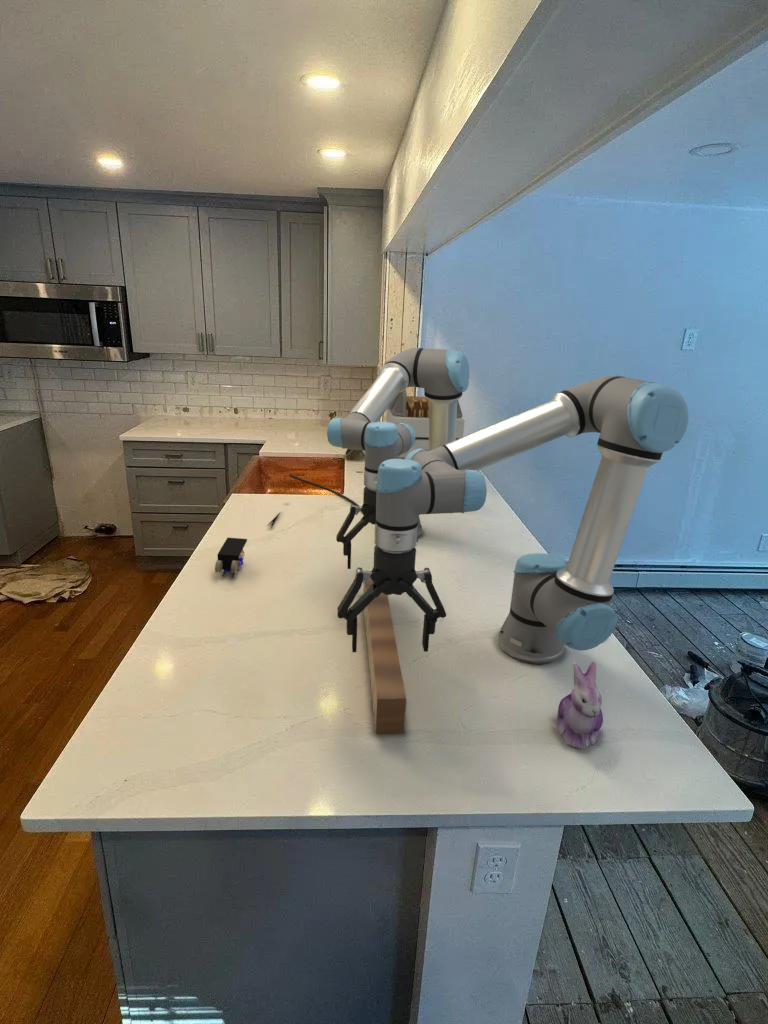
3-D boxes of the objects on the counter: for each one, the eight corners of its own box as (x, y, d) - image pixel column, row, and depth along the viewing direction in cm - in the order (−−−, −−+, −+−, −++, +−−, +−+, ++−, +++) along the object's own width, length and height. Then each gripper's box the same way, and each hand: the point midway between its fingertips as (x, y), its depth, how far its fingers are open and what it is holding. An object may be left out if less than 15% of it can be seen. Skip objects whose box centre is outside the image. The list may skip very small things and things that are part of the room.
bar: (362, 596, 156) (363, 570, 153) (381, 596, 156) (383, 570, 153) (375, 733, 106) (377, 699, 103) (403, 733, 106) (406, 698, 104)
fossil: (345, 442, 310) (366, 427, 305) (356, 456, 313) (377, 441, 308) (338, 456, 291) (361, 440, 286) (350, 470, 294) (373, 455, 289)
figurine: (580, 758, 102) (595, 689, 97) (541, 722, 110) (552, 657, 105) (617, 742, 106) (633, 675, 101) (577, 709, 114) (589, 645, 109)
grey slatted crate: (382, 463, 289) (386, 382, 275) (445, 464, 293) (451, 384, 279) (390, 482, 257) (394, 392, 243) (460, 483, 261) (468, 394, 247)
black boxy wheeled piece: (238, 584, 162) (249, 557, 175) (236, 562, 158) (247, 536, 172) (215, 584, 161) (227, 556, 175) (212, 561, 158) (225, 535, 171)
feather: (287, 506, 225) (290, 502, 224) (270, 530, 198) (272, 526, 198) (283, 504, 225) (286, 500, 224) (265, 527, 198) (268, 523, 197)
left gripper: (327, 490, 133) (326, 573, 140) (432, 492, 135) (426, 573, 142) (327, 481, 140) (326, 560, 147) (427, 483, 142) (422, 561, 149)
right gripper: (324, 554, 97) (323, 660, 104) (468, 555, 99) (457, 658, 106) (325, 537, 104) (324, 637, 111) (459, 538, 106) (450, 636, 113)
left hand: (375, 567), depth 144 cm, fingers open, 13 cm apart
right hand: (389, 648), depth 108 cm, fingers open, 13 cm apart
